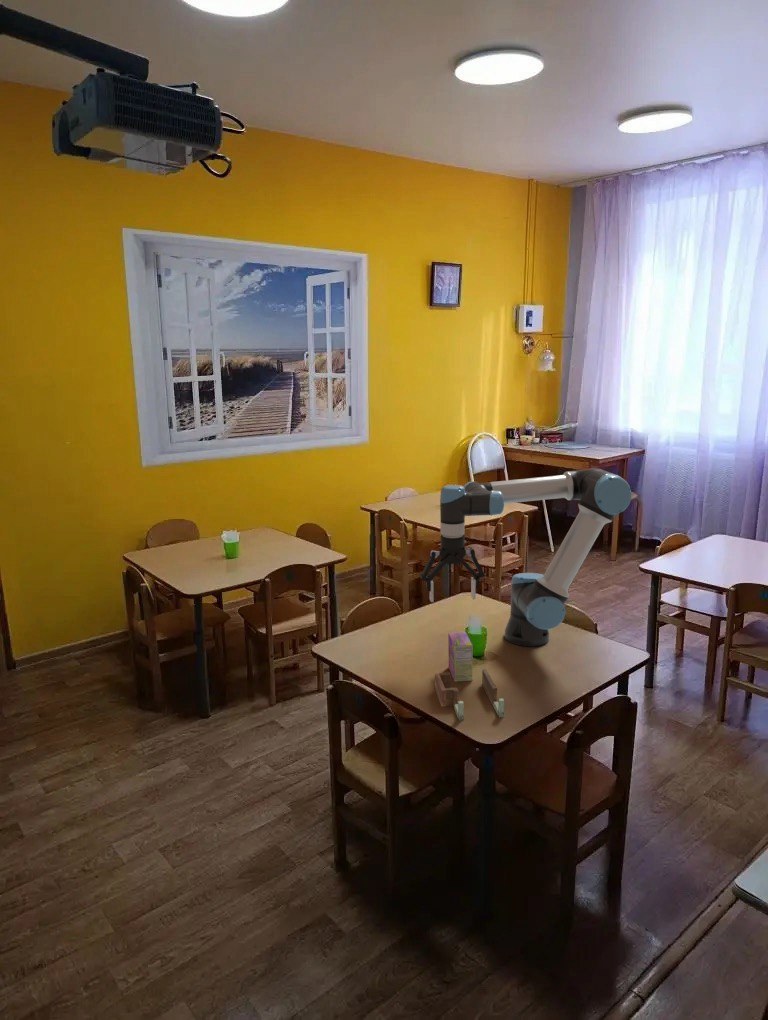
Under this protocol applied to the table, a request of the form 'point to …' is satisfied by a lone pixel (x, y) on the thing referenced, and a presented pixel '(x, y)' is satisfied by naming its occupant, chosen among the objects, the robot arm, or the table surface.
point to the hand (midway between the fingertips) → (452, 599)
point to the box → (460, 656)
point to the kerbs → (498, 707)
